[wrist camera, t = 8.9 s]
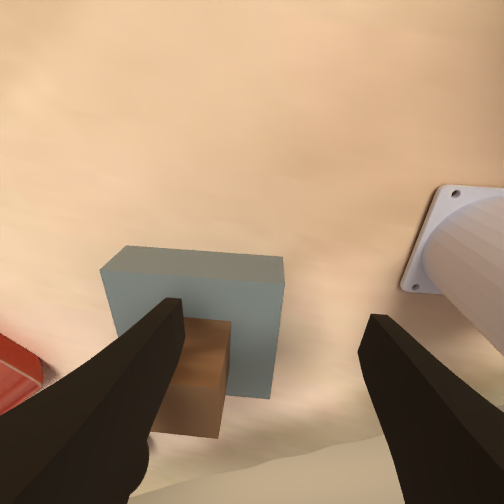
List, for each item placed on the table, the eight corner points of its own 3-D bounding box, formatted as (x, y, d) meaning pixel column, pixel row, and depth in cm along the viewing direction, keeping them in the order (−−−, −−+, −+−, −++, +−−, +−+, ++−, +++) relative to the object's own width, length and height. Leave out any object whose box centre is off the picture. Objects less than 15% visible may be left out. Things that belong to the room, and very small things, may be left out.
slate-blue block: (282, 253, 20) (284, 283, 16) (269, 359, 25) (269, 399, 22) (129, 242, 20) (99, 269, 17) (151, 349, 26) (131, 386, 22)
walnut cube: (231, 321, 18) (218, 388, 13) (229, 368, 20) (218, 438, 16) (160, 314, 18) (125, 378, 14) (167, 362, 20) (138, 430, 16)
